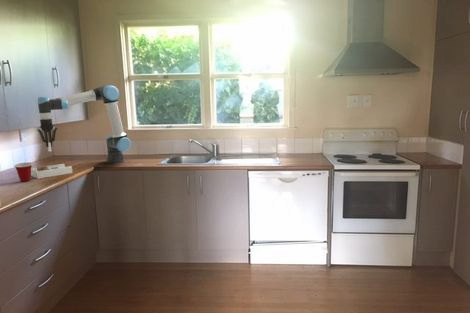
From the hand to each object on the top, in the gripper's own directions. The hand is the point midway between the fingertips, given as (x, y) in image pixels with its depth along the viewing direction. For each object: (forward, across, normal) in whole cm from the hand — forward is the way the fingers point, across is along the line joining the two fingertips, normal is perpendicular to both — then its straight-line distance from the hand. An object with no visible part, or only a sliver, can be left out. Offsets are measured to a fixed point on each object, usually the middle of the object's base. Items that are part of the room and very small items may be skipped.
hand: (49, 151), depth 261 cm
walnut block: (+14, +6, 0) cm, 16 cm away
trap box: (+17, 0, -3) cm, 18 cm away
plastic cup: (+17, +20, +7) cm, 27 cm away
